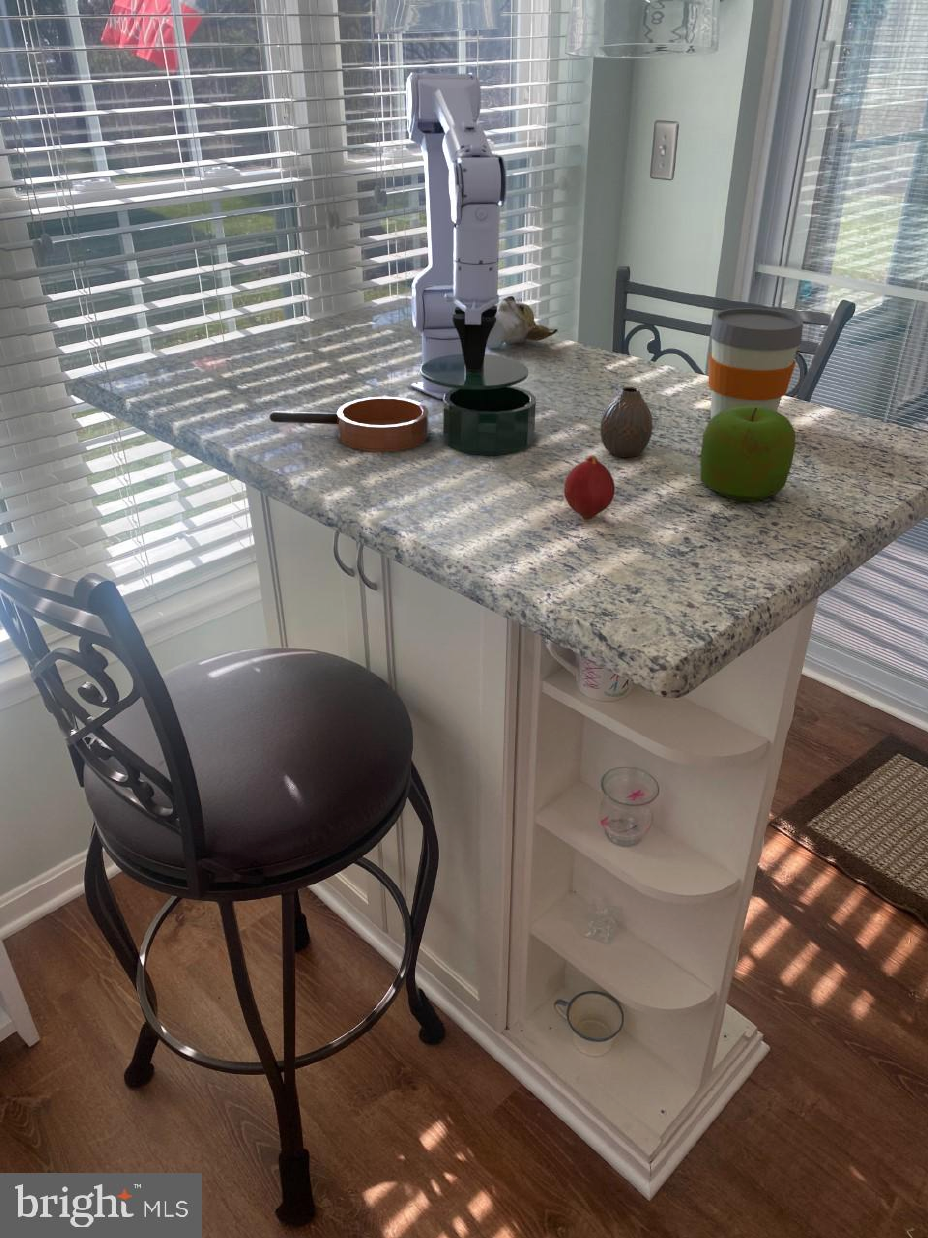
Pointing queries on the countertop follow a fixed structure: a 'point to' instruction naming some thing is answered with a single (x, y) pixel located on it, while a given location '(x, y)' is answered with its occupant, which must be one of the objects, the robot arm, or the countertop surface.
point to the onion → (589, 488)
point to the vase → (626, 424)
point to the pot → (489, 420)
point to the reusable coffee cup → (752, 357)
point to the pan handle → (304, 417)
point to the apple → (747, 452)
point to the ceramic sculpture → (515, 324)
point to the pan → (383, 424)
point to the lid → (474, 372)
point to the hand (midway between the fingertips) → (474, 365)
